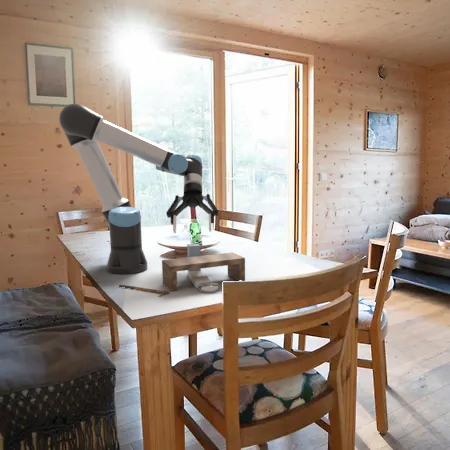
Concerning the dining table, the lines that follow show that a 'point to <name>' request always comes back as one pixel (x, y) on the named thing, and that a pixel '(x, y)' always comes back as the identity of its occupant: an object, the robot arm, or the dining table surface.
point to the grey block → (196, 274)
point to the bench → (202, 266)
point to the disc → (208, 287)
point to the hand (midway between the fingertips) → (192, 230)
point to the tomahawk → (147, 290)
